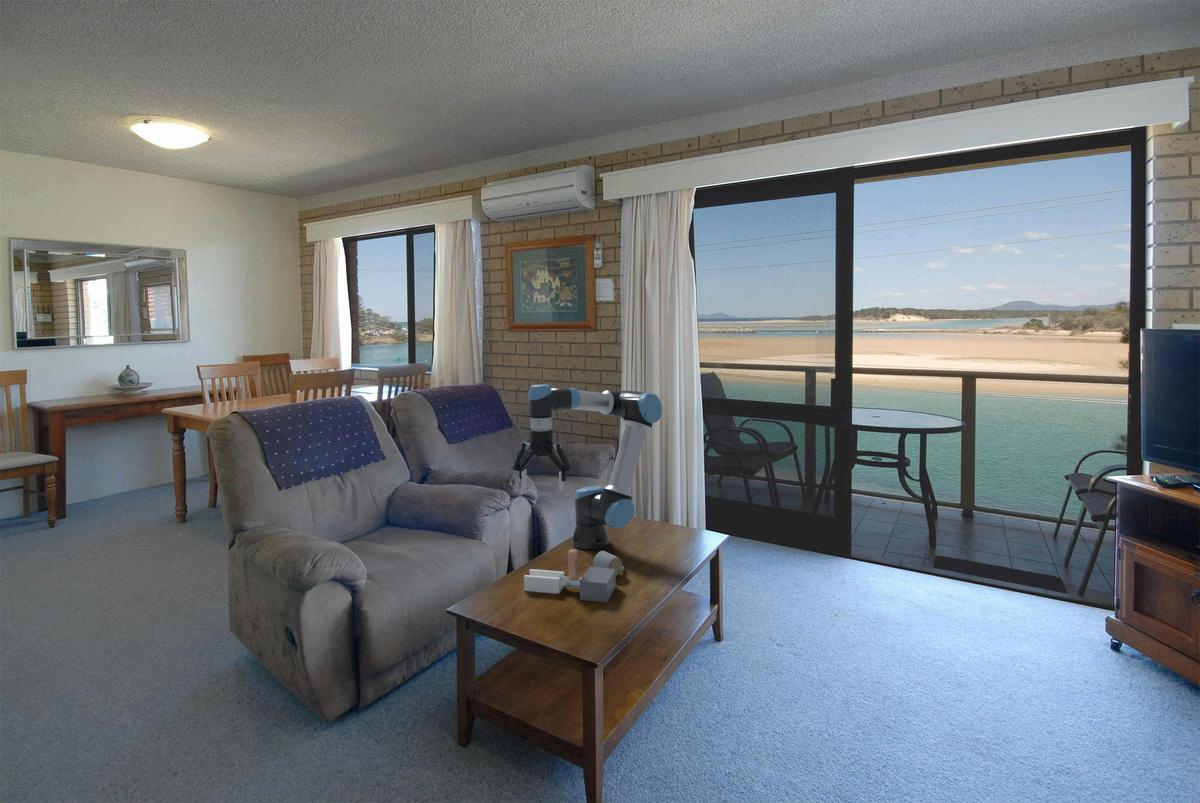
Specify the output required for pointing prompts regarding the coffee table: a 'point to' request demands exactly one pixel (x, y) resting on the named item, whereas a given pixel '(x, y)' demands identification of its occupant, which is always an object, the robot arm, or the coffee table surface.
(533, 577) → the white channel cradle
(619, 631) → the coffee table surface
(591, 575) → the socket block
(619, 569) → the ceramic mug
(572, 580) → the silver peg with handle
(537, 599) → the coffee table surface
